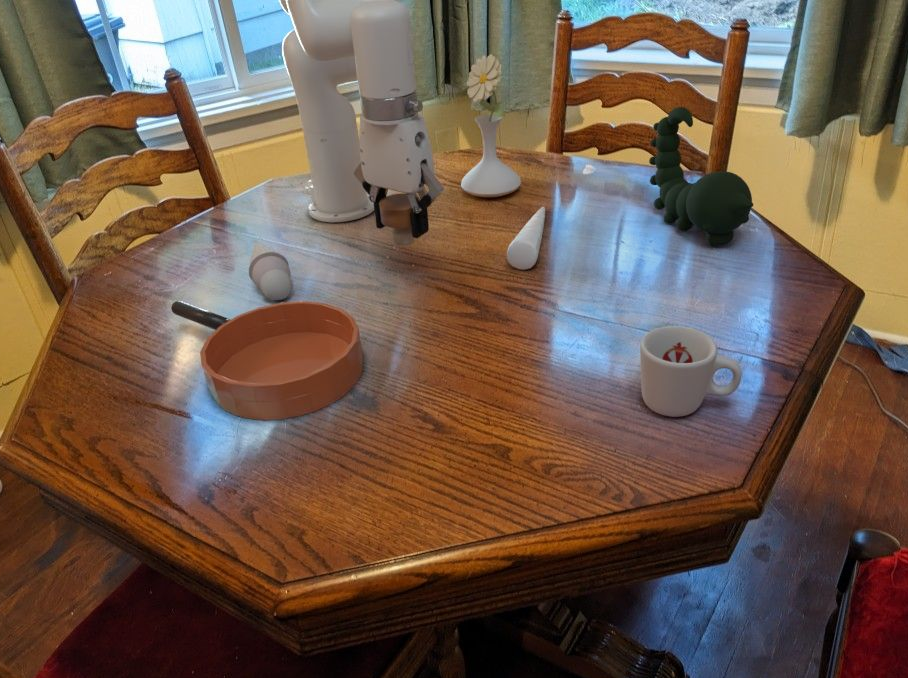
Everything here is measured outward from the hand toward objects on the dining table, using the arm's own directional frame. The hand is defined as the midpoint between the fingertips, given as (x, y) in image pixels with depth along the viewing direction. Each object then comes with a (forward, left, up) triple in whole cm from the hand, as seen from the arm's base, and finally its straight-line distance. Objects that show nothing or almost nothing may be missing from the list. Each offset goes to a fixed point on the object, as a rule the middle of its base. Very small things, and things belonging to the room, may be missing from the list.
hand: (402, 228), depth 108 cm
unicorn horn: (+10, +20, -8) cm, 24 cm away
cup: (+47, -10, -8) cm, 49 cm away
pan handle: (-13, -28, -5) cm, 31 cm away
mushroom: (0, 0, -2) cm, 2 cm away
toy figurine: (+32, +35, -8) cm, 49 cm away
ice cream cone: (-18, -12, -8) cm, 23 cm away
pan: (+2, -28, -8) cm, 29 cm away
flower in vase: (-7, +35, -8) cm, 36 cm away
